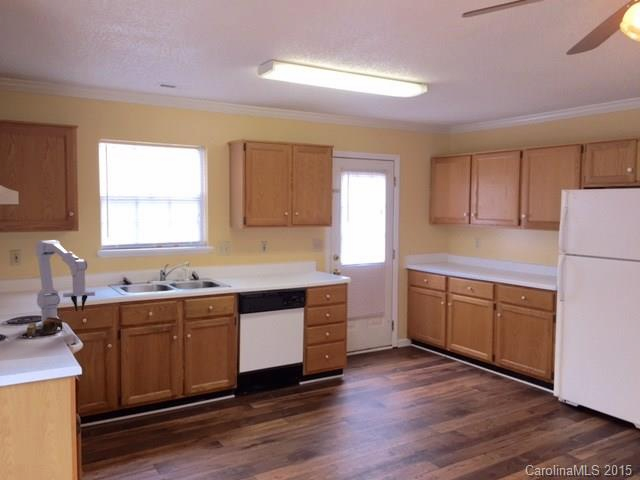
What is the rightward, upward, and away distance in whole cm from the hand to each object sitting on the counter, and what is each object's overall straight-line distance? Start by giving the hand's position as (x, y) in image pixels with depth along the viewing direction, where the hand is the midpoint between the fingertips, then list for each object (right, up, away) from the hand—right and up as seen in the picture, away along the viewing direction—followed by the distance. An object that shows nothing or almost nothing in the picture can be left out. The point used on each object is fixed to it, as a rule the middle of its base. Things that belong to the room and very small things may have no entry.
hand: (79, 310), depth 266 cm
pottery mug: (-11, -10, -4) cm, 16 cm away
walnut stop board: (-20, -10, -7) cm, 23 cm away
